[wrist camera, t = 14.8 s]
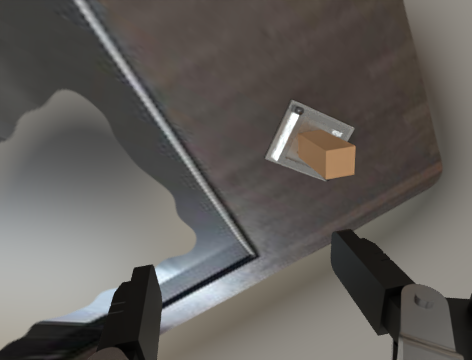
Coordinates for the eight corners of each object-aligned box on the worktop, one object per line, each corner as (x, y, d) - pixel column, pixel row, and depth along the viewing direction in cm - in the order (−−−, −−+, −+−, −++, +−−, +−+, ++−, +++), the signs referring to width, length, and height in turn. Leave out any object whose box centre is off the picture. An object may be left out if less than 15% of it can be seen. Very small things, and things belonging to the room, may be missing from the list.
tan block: (298, 156, 47) (325, 179, 38) (297, 133, 45) (326, 150, 36) (321, 153, 47) (354, 174, 38) (321, 129, 46) (355, 145, 37)
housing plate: (263, 157, 47) (267, 162, 44) (290, 98, 44) (296, 101, 42) (323, 179, 50) (330, 185, 48) (352, 127, 47) (361, 130, 45)
